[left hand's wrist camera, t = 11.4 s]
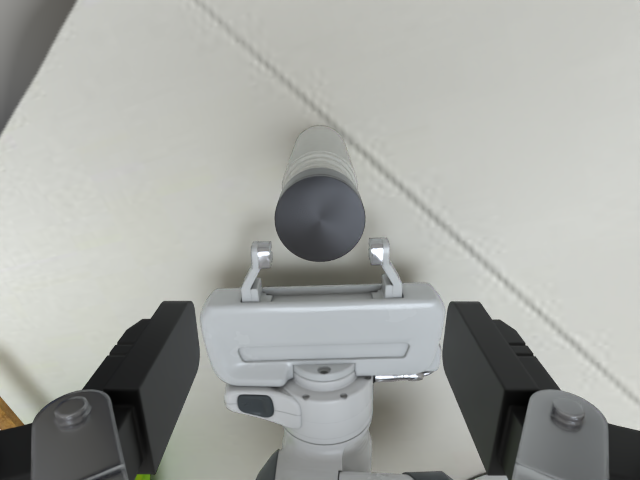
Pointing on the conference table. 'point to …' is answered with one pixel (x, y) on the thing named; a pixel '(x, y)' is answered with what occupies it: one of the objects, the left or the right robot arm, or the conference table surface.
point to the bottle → (320, 153)
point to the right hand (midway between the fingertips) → (320, 241)
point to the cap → (320, 215)
